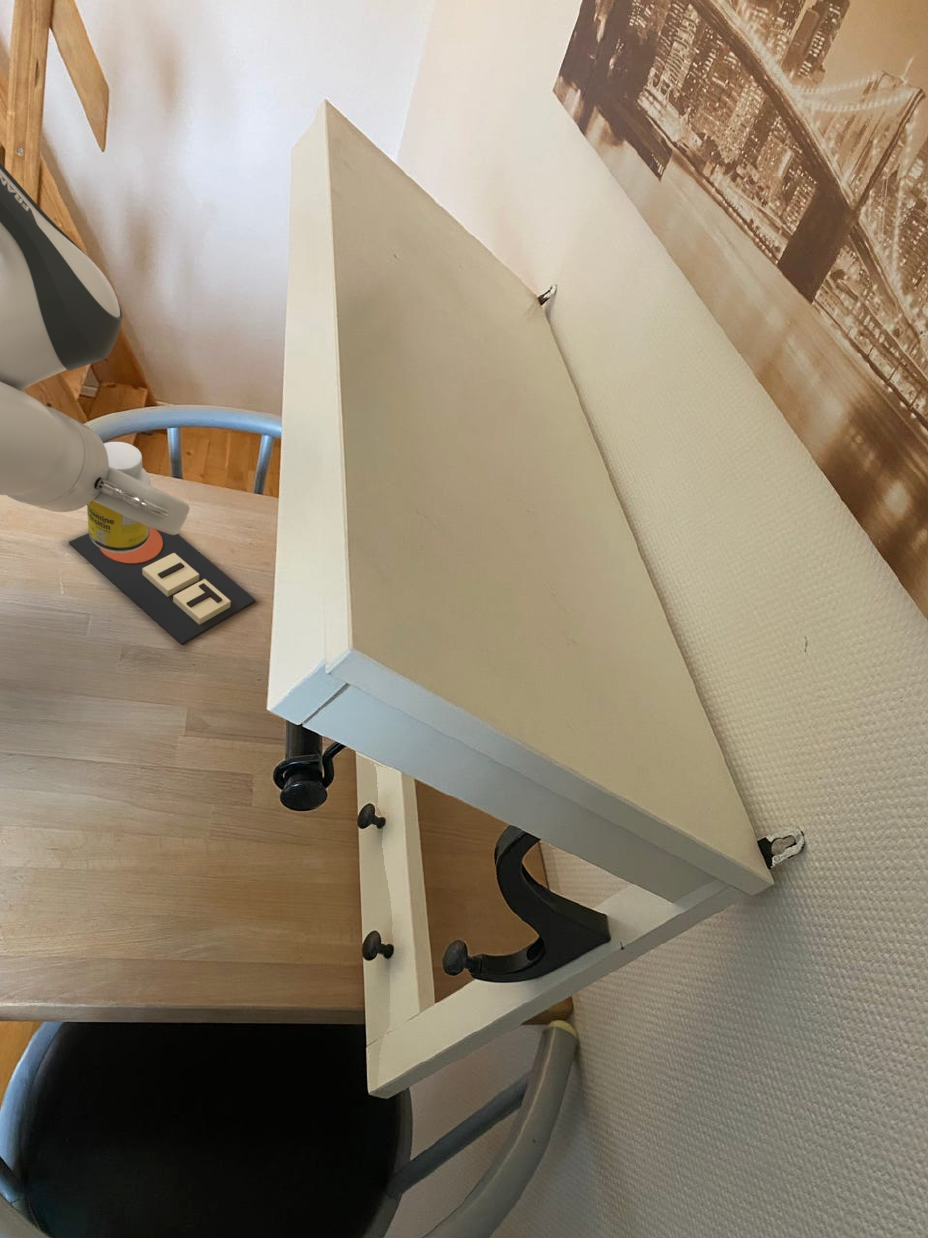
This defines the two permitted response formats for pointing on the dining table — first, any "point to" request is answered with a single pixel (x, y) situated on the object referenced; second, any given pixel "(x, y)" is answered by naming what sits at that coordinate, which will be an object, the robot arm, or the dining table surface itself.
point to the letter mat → (170, 583)
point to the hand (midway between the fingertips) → (122, 490)
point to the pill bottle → (109, 525)
